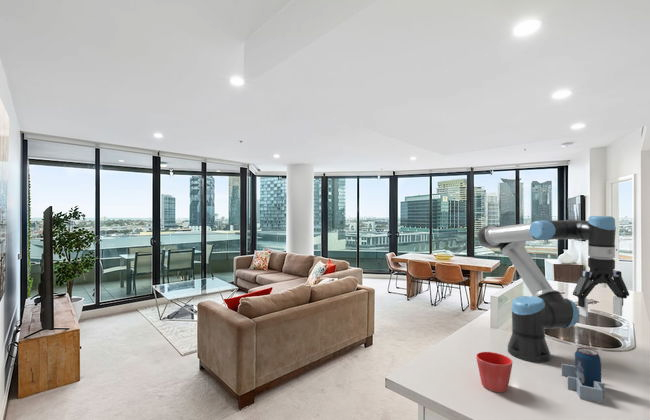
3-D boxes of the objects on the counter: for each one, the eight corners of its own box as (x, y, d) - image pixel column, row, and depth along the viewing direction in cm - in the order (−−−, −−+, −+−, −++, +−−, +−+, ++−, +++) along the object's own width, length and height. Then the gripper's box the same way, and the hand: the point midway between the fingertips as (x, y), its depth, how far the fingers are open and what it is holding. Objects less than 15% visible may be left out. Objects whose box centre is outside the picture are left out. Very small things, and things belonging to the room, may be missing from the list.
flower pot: (480, 375, 116) (480, 348, 116) (515, 385, 109) (514, 356, 110) (472, 387, 108) (472, 358, 108) (509, 399, 101) (509, 368, 101)
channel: (571, 396, 102) (571, 384, 102) (561, 374, 117) (561, 363, 117) (609, 405, 98) (609, 391, 98) (594, 380, 112) (594, 369, 112)
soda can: (602, 386, 109) (602, 350, 109) (600, 394, 104) (599, 357, 104) (577, 378, 114) (576, 345, 114) (573, 385, 109) (572, 350, 109)
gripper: (578, 259, 113) (578, 319, 113) (643, 259, 115) (642, 317, 115) (561, 256, 120) (560, 312, 120) (622, 256, 122) (621, 311, 122)
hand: (600, 315), depth 118 cm, fingers open, 13 cm apart
